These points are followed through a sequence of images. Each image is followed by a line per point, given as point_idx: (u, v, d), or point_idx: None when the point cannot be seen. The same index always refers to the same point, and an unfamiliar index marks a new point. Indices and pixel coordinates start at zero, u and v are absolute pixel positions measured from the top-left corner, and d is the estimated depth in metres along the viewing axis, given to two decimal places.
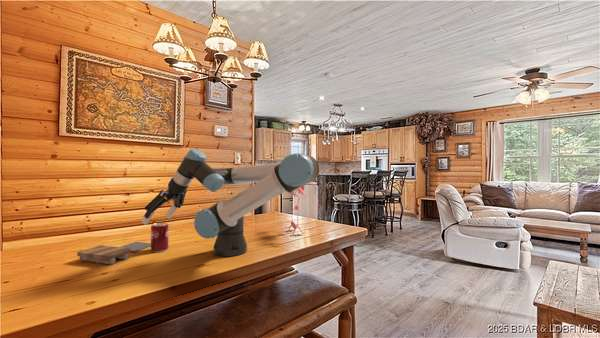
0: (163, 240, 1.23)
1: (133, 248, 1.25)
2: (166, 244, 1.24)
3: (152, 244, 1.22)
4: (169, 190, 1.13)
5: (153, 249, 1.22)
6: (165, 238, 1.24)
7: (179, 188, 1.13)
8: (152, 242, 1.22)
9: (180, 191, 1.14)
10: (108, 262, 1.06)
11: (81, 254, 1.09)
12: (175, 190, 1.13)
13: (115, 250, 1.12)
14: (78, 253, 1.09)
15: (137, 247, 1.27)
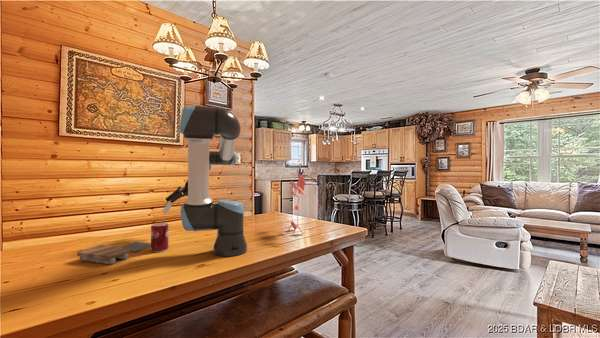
0: (163, 240, 1.23)
1: (133, 248, 1.25)
2: (166, 244, 1.24)
3: (152, 244, 1.22)
4: None
5: (153, 249, 1.22)
6: (165, 238, 1.24)
7: None
8: (152, 242, 1.22)
9: (187, 181, 1.46)
10: (108, 262, 1.06)
11: (81, 254, 1.09)
12: (185, 183, 1.47)
13: (115, 250, 1.12)
14: (78, 253, 1.09)
15: (137, 247, 1.27)
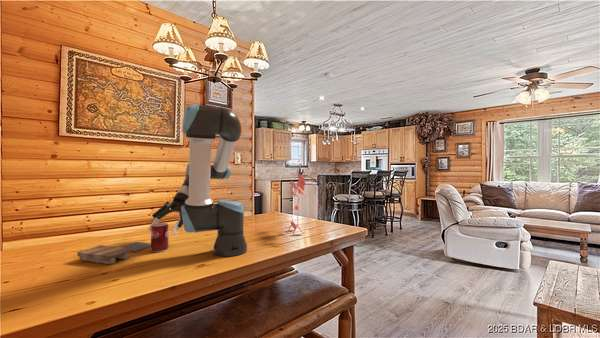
0: (163, 240, 1.23)
1: (133, 248, 1.25)
2: (166, 244, 1.24)
3: (152, 244, 1.22)
4: None
5: (153, 249, 1.22)
6: (165, 238, 1.24)
7: None
8: (152, 242, 1.22)
9: (175, 195, 1.38)
10: (108, 262, 1.06)
11: (81, 254, 1.09)
12: None
13: (115, 250, 1.12)
14: (78, 253, 1.09)
15: (137, 247, 1.27)
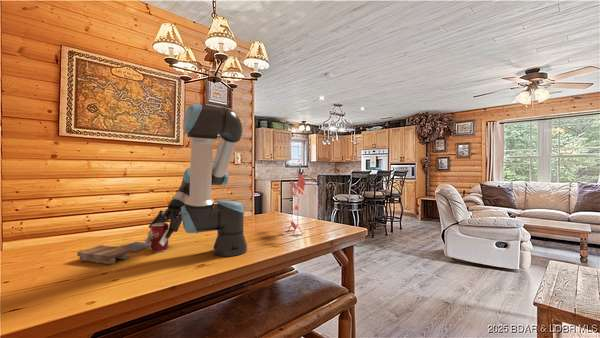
0: None
1: (133, 248, 1.25)
2: (166, 244, 1.24)
3: (152, 244, 1.22)
4: None
5: (153, 249, 1.22)
6: None
7: None
8: (152, 242, 1.22)
9: (170, 202, 1.34)
10: (108, 262, 1.06)
11: (81, 254, 1.09)
12: None
13: (115, 250, 1.12)
14: (78, 253, 1.09)
15: (137, 247, 1.27)
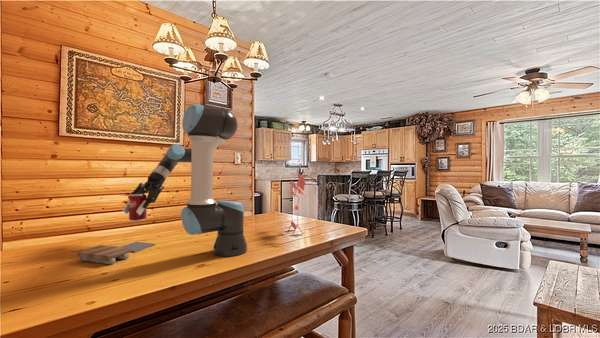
0: None
1: (133, 248, 1.25)
2: (144, 214, 1.28)
3: (130, 213, 1.26)
4: None
5: (131, 218, 1.26)
6: None
7: (150, 174, 1.39)
8: (130, 211, 1.26)
9: (149, 175, 1.37)
10: (108, 262, 1.06)
11: (81, 254, 1.09)
12: None
13: (115, 250, 1.12)
14: (78, 253, 1.09)
15: (137, 247, 1.27)
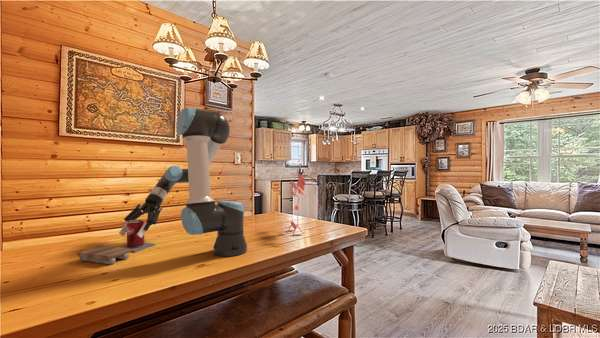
0: (138, 236, 1.27)
1: (133, 248, 1.25)
2: (142, 240, 1.28)
3: (128, 240, 1.26)
4: None
5: (128, 245, 1.26)
6: None
7: None
8: (127, 238, 1.26)
9: (147, 197, 1.37)
10: (108, 262, 1.06)
11: (81, 254, 1.09)
12: None
13: (115, 250, 1.12)
14: (78, 253, 1.09)
15: (137, 247, 1.27)
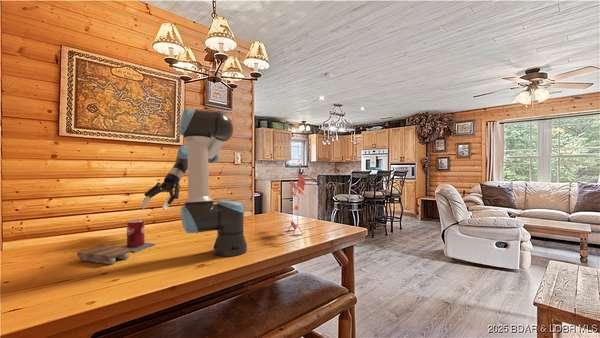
0: (138, 236, 1.27)
1: (133, 248, 1.25)
2: (142, 240, 1.28)
3: (128, 240, 1.26)
4: None
5: (128, 245, 1.26)
6: (141, 234, 1.28)
7: None
8: (128, 238, 1.26)
9: None
10: (108, 262, 1.06)
11: (81, 254, 1.09)
12: None
13: (115, 250, 1.12)
14: (78, 253, 1.09)
15: (137, 247, 1.27)
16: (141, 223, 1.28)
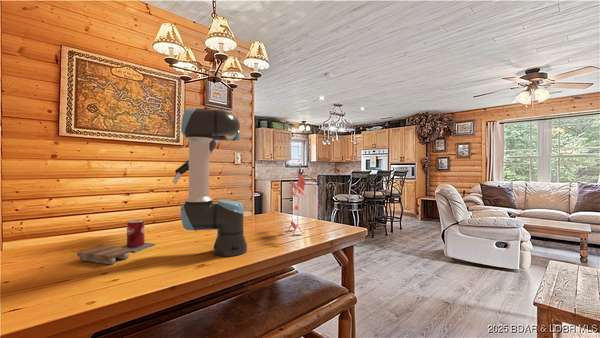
0: (138, 236, 1.27)
1: (133, 248, 1.25)
2: (142, 240, 1.28)
3: (128, 240, 1.26)
4: None
5: (128, 245, 1.26)
6: (141, 234, 1.28)
7: None
8: (128, 238, 1.26)
9: None
10: (108, 262, 1.06)
11: (81, 254, 1.09)
12: None
13: (115, 250, 1.12)
14: (78, 253, 1.09)
15: (137, 247, 1.27)
16: (141, 223, 1.28)
